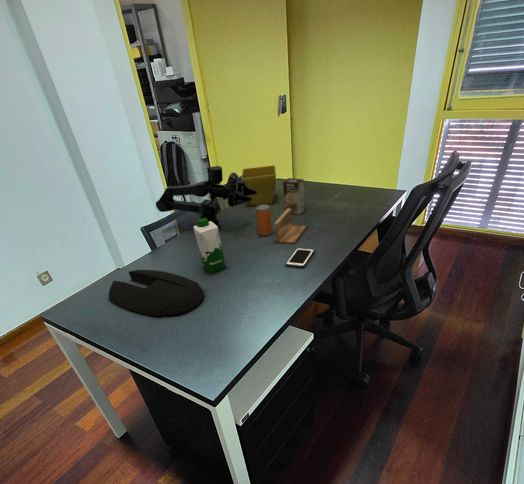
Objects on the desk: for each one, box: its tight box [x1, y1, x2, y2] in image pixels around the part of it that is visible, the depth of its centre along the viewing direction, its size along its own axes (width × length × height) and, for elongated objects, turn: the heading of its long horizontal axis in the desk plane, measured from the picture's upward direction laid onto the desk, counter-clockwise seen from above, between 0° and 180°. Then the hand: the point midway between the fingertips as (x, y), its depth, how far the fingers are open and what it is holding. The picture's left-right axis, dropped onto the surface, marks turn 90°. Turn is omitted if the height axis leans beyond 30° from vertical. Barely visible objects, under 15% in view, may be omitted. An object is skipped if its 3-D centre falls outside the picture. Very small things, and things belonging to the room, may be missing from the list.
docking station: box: [108, 269, 205, 318], centre depth 125 cm, size 25×40×5 cm, turn 58°
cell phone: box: [285, 247, 315, 268], centre depth 136 cm, size 8×15×1 cm, turn 156°
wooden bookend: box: [273, 208, 307, 245], centre depth 152 cm, size 9×18×9 cm, turn 157°
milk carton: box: [192, 217, 226, 275], centre depth 132 cm, size 9×9×20 cm
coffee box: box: [282, 177, 305, 215], centre depth 172 cm, size 9×6×16 cm
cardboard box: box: [240, 164, 277, 207], centre depth 191 cm, size 19×19×17 cm
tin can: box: [254, 204, 273, 237], centre depth 156 cm, size 7×7×13 cm
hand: (254, 195), depth 154 cm, fingers open, 9 cm apart
